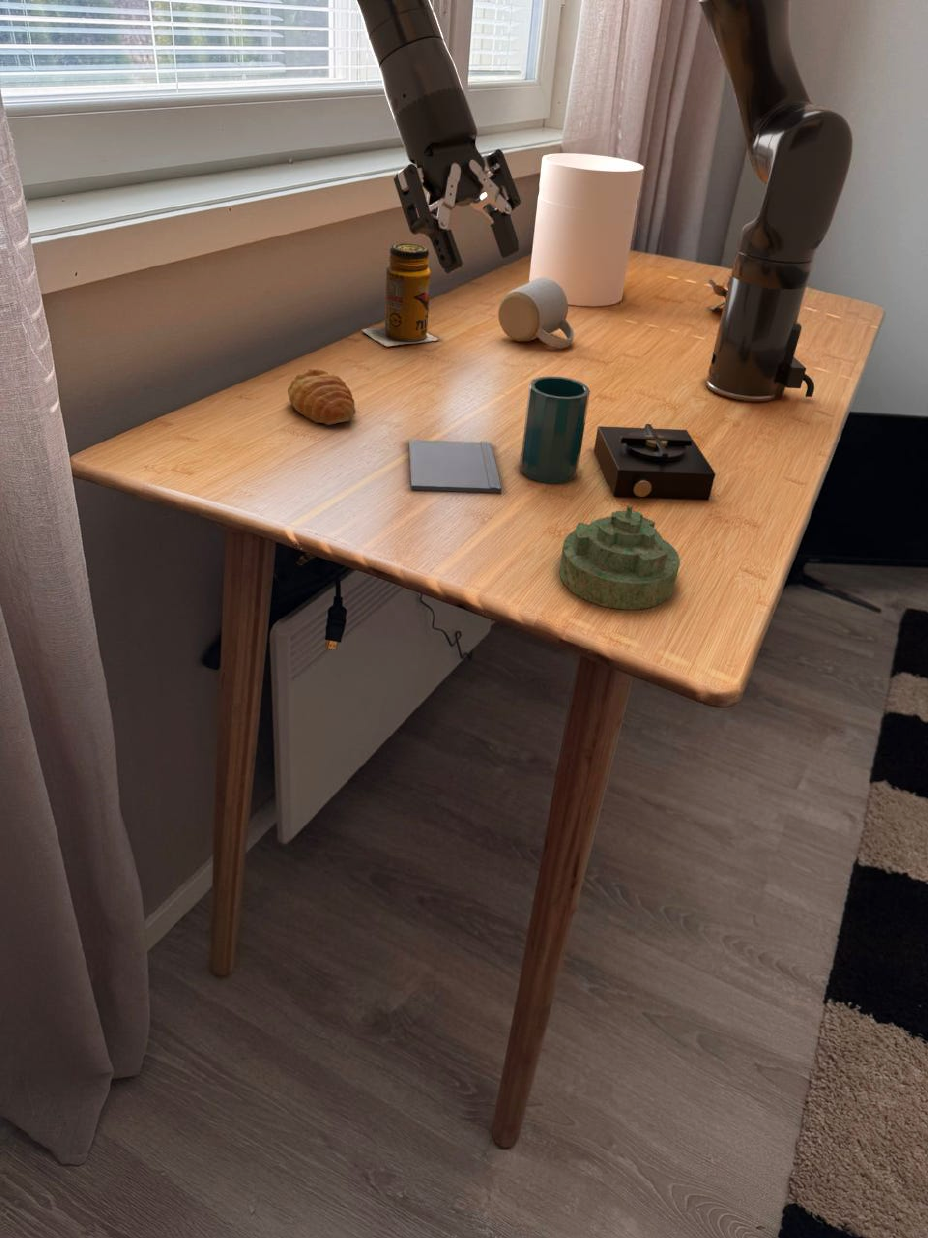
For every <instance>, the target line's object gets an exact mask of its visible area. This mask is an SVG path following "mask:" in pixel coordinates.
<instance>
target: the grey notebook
mask: <svg viewBox="0 0 928 1238" xmlns="http://www.w3.org/2000/svg"><path fill="white" fill-rule="evenodd" d="M408 457H409V458H408V459H409V475H410V490H411V491H426V492H427V491H429V492H430V491H431V492H457V493H459V492H461V493H485V494H486V493H487V494H488V493H489V494H490V493H491V494H501V493H502V487H501V482H500V477H499V473H498V468H497V464H496V460H495V454H494V451H493V446H492V443H491V442H487V441H480V442H471V441H470V442H468V441H449V440H448V441H443V440H421V439H408Z"/></svg>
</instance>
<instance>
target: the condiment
mask: <svg viewBox="0 0 928 1238" xmlns="http://www.w3.org/2000/svg"><path fill="white" fill-rule="evenodd" d="M429 255H430V251H429V249H428V248H427V247H426V246H424V245H422V244H417V243H409V242H402V243H400V242H399V243H395V244H393V245H391V246H390V248H389V259H388V261H389V264H388V266H387V267H386V271H385V272H386V274H385V302H384V303H385V305H384V306H385V307H384V310H385V311H384V326H381V327H374V328H369V327H368V328H362V329H361V331H363V332H364V333H365V334H366V335H368V336H369V337H370V338H371V339H373V340H375V342H378V343H380V344H381V345H383V346H385V347H393V346H395V347H396V346H399V345H400V346H401V345H406V344H407V345H409V344H420V343H428V342H437V341H438V340H439V338H438V337H436V336H434V335H431V334H430V333H428V325H429V314H430V313H429V312H430V307H429V306H430V304H429V303H430V289H431V274H432V273H431V269H430V268H429V264H430V261H429V257H430V256H429Z"/></svg>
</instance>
